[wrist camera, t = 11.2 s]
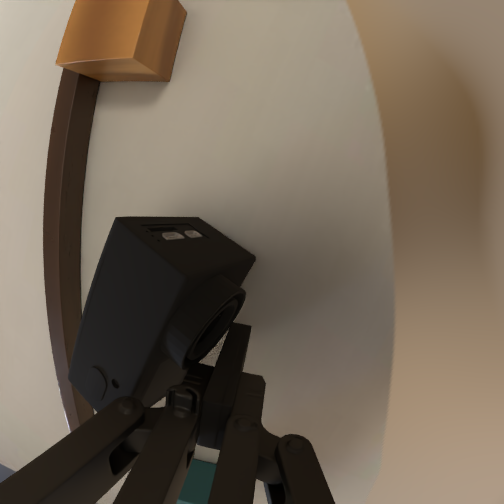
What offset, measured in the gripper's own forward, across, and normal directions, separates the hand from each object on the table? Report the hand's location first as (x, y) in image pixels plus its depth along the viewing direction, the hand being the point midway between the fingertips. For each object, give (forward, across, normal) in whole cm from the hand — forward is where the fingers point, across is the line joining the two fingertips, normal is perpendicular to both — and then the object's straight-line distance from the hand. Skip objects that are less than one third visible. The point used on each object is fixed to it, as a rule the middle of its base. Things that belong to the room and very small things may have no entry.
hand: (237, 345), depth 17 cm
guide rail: (+3, -13, 0) cm, 13 cm away
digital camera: (+2, -3, 0) cm, 4 cm away
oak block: (+3, -9, +16) cm, 19 cm away
